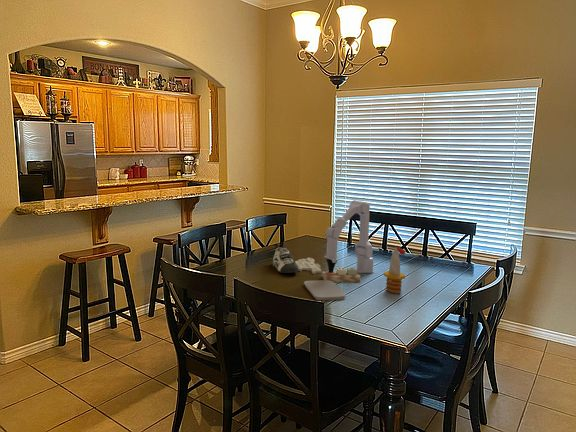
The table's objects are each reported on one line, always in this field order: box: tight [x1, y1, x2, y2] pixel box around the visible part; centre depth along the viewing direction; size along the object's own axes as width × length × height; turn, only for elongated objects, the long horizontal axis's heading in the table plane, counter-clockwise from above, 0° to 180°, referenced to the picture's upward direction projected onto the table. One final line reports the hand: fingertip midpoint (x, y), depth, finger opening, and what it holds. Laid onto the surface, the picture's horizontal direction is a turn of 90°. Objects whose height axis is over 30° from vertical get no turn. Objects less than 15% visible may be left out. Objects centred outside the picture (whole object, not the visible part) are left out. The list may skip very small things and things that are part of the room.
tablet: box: [303, 279, 347, 301], centre depth 228 cm, size 16×26×2 cm, turn 13°
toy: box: [383, 246, 406, 294], centre depth 228 cm, size 9×24×15 cm
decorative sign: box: [294, 257, 323, 275], centre depth 273 cm, size 31×2×15 cm
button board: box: [321, 270, 361, 283], centre depth 250 cm, size 20×10×3 cm, turn 97°
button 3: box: [325, 270, 336, 275], centre depth 249 cm, size 4×4×3 cm
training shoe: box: [272, 247, 299, 274], centre depth 264 cm, size 11×29×13 cm, turn 23°
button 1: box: [346, 267, 357, 275], centre depth 250 cm, size 4×4×3 cm
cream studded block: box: [336, 267, 347, 275], centre depth 249 cm, size 4×4×3 cm
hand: (330, 271), depth 249 cm, fingers closed, pressing on button 3
